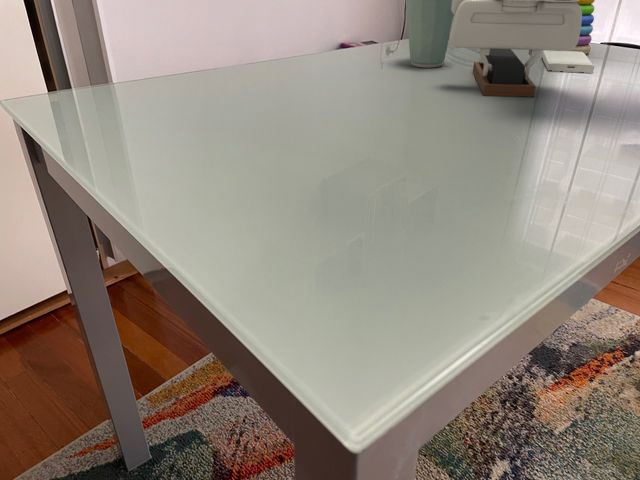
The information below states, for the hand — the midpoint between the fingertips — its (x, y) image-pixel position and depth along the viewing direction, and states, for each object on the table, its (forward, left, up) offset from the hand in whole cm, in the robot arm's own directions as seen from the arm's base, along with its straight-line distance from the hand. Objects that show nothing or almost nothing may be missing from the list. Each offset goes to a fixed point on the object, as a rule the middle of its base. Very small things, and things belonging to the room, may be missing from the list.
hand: (505, 76), depth 90 cm
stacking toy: (-19, -33, -2) cm, 38 cm away
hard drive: (-15, -20, -2) cm, 25 cm away
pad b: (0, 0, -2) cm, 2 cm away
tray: (0, -4, -2) cm, 4 cm away
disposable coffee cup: (+13, -17, -2) cm, 22 cm away
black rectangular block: (0, -7, -2) cm, 7 cm away
